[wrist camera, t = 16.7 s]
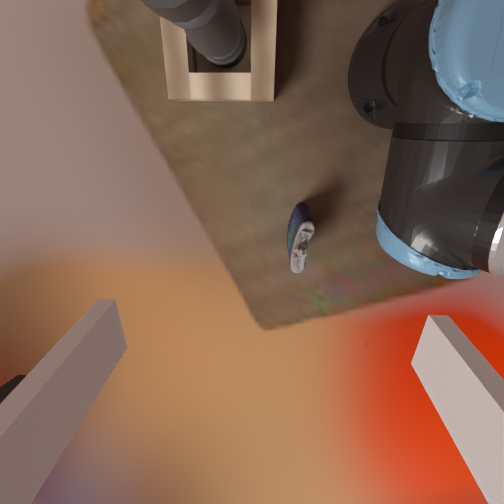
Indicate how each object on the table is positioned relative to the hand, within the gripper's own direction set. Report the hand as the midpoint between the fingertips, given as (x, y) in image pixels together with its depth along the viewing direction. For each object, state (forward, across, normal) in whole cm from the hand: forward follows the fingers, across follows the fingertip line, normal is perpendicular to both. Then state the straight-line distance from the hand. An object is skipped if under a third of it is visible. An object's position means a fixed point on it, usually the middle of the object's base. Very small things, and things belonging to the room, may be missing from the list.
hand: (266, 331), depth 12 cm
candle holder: (+38, +7, -17) cm, 42 cm away
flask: (+39, -5, +10) cm, 41 cm away
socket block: (+39, +7, -17) cm, 43 cm away
